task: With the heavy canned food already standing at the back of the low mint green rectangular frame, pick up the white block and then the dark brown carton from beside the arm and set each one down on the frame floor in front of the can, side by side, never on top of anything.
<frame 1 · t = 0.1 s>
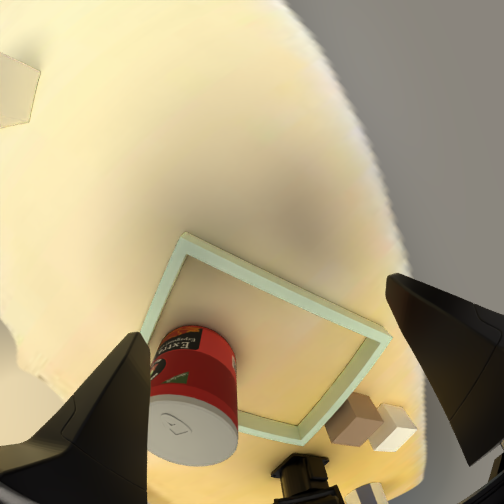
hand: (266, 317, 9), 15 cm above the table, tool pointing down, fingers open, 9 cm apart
mint green rectangular frame: (253, 357, 27), on the table
canned food: (197, 355, 27), resting in mint green rectangular frame
milk: (18, 100, 20), on the table
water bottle: (362, 492, 37), on the table
brown carton: (345, 405, 30), on the table
white block: (382, 416, 31), on the table
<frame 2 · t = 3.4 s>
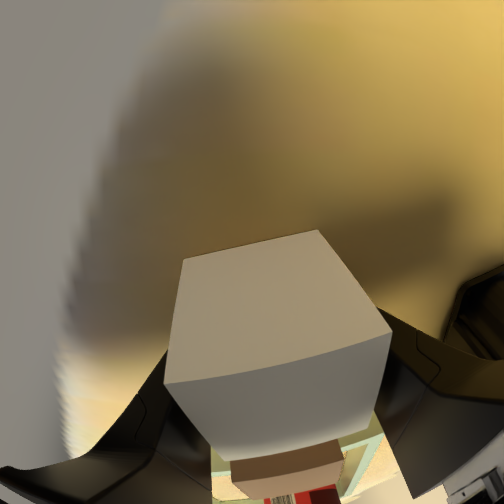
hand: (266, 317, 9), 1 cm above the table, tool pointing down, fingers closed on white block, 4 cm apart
mint green rectangular frame: (267, 476, 20), on the table
canned food: (296, 480, 23), resting in mint green rectangular frame
brown carton: (275, 404, 14), on the table
white block: (262, 298, 10), on the table, touching gripper
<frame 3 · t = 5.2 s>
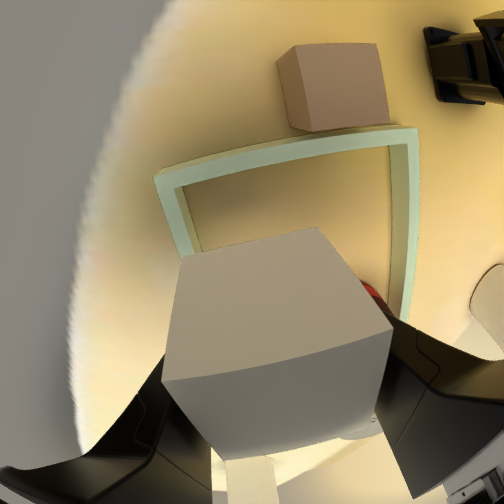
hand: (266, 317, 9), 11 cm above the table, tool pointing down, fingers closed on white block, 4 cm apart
mint green rectangular frame: (310, 277, 23), on the table
canned food: (339, 313, 25), resting in mint green rectangular frame
milk: (248, 458, 40), on the table
pill bottle: (487, 288, 27), on the table
brown carton: (316, 89, 16), on the table
white block: (262, 296, 10), point 10 cm above the table, touching gripper
when the fingers open (3 cm above the table, at t = 7.1 s): white block drops 2 cm, resting in mint green rectangular frame.
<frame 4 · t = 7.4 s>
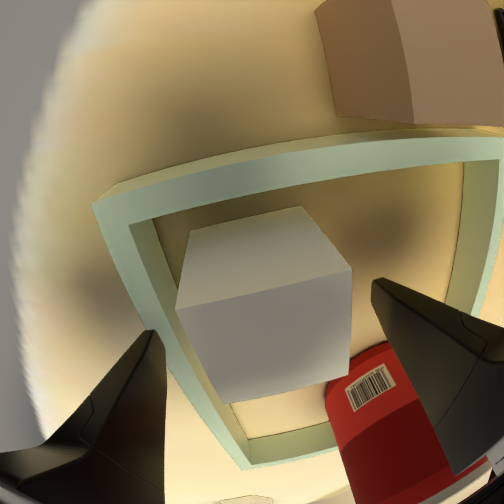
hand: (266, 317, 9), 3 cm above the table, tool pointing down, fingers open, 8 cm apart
mint green rectangular frame: (343, 341, 15), on the table
canned food: (371, 375, 18), resting in mint green rectangular frame
milk: (246, 499, 32), on the table
brown carton: (375, 61, 9), on the table
white block: (256, 265, 12), resting in mint green rectangular frame
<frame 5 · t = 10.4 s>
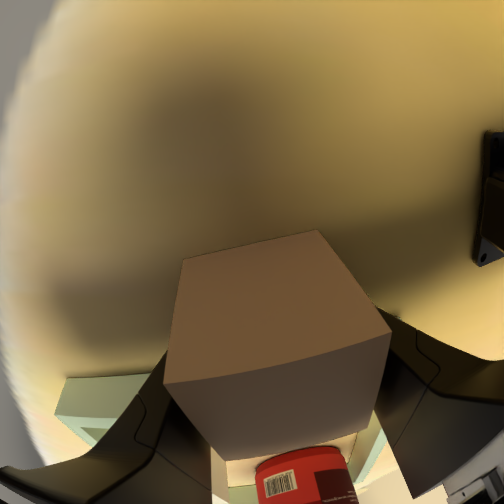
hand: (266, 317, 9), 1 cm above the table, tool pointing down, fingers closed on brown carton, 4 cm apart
mint green rectangular frame: (259, 451, 17), on the table
canned food: (297, 461, 19), resting in mint green rectangular frame
brown carton: (262, 298, 10), on the table, touching gripper
white block: (176, 421, 14), resting in mint green rectangular frame
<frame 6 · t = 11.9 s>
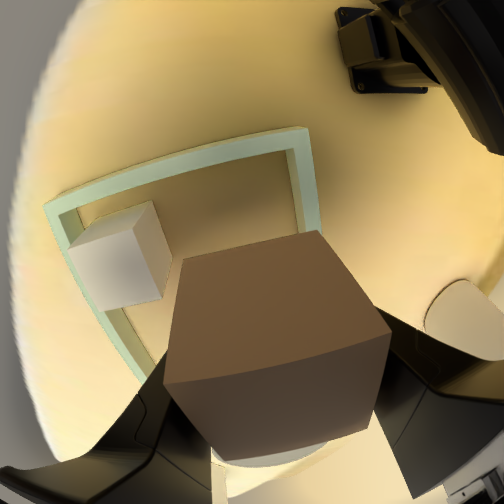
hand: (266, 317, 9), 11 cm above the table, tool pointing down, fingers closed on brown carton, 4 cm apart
mint green rectangular frame: (209, 296, 22), on the table
canned food: (253, 333, 24), resting in mint green rectangular frame
milk: (201, 465, 39), on the table
pill bottle: (447, 306, 27), on the table
brown carton: (262, 298, 10), point 10 cm above the table, touching gripper
white block: (134, 237, 19), resting in mint green rectangular frame
when the fingers open (3 cm above the table, at t = 13.6 s): brown carton drops 2 cm, resting in mint green rectangular frame.
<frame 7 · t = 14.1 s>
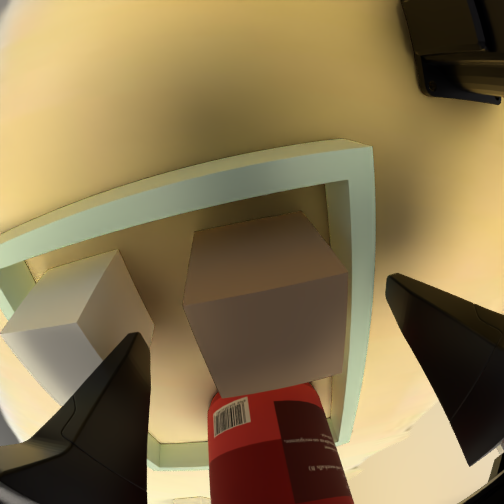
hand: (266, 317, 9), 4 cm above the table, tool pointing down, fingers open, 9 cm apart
mint green rectangular frame: (206, 369, 16), on the table
canned food: (262, 401, 18), resting in mint green rectangular frame
milk: (198, 500, 32), on the table
brown carton: (256, 266, 13), resting in mint green rectangular frame
white block: (99, 297, 13), resting in mint green rectangular frame
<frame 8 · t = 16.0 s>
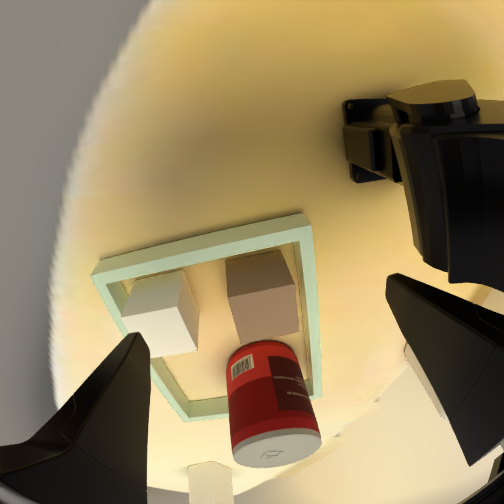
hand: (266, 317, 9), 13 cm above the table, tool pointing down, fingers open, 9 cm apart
mint green rectangular frame: (227, 338, 27), on the table
canned food: (261, 362, 30), resting in mint green rectangular frame
milk: (209, 466, 44), on the table
pill bottle: (426, 336, 32), on the table
brown carton: (257, 278, 24), resting in mint green rectangular frame
white block: (167, 296, 24), resting in mint green rectangular frame
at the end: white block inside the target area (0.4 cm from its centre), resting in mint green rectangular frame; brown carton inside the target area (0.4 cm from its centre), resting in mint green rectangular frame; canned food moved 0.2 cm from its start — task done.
